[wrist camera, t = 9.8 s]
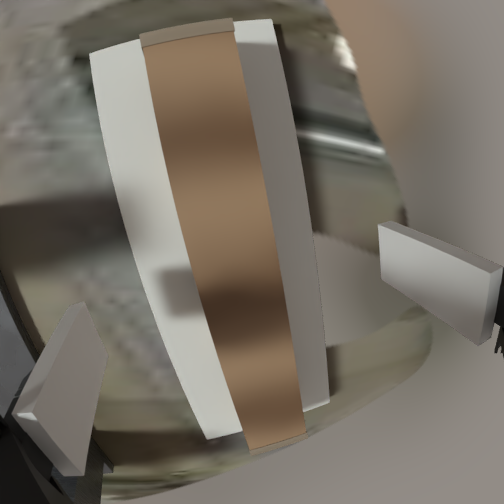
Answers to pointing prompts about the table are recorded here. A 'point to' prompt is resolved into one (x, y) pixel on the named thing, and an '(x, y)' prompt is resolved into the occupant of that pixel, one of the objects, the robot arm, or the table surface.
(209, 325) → the rail
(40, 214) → the table surface
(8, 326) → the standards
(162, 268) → the mat
